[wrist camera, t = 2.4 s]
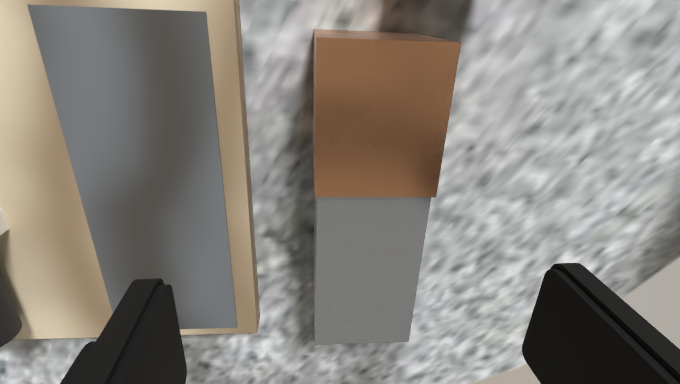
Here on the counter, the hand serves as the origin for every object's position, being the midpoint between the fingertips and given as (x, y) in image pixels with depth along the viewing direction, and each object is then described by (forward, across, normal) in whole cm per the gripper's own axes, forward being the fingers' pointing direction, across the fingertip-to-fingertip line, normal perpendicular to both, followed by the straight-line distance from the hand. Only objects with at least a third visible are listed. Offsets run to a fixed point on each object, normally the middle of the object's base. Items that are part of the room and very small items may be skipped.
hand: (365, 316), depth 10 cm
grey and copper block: (+10, -1, 0) cm, 10 cm away
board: (+10, +11, +1) cm, 15 cm away
